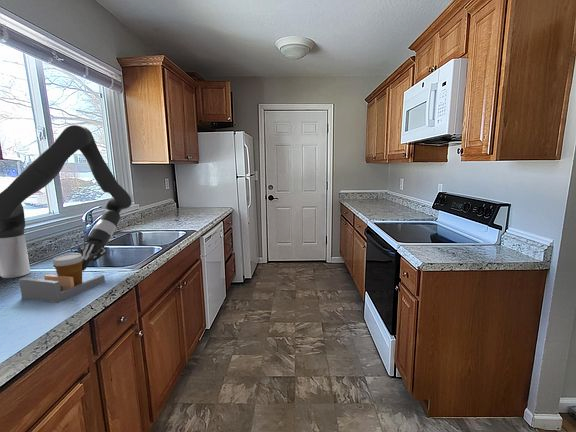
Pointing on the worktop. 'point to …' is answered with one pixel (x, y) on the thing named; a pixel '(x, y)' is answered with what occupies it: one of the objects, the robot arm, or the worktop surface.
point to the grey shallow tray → (53, 289)
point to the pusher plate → (61, 281)
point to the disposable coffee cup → (69, 266)
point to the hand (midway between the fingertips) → (80, 269)
